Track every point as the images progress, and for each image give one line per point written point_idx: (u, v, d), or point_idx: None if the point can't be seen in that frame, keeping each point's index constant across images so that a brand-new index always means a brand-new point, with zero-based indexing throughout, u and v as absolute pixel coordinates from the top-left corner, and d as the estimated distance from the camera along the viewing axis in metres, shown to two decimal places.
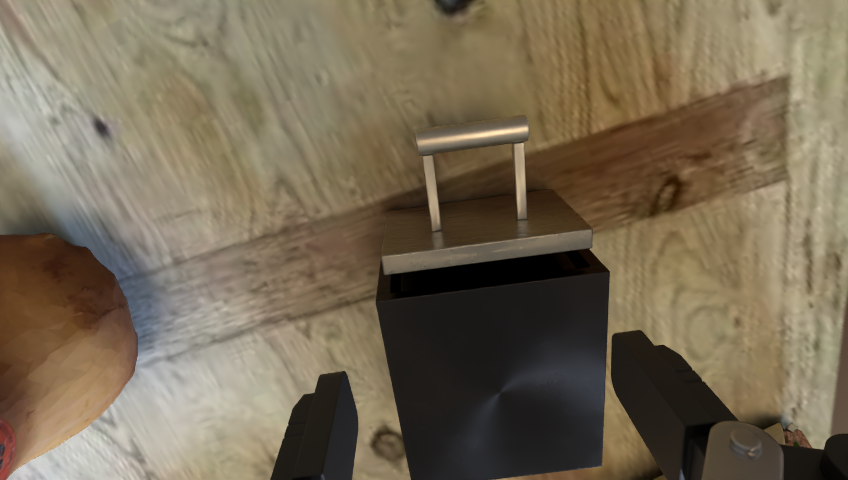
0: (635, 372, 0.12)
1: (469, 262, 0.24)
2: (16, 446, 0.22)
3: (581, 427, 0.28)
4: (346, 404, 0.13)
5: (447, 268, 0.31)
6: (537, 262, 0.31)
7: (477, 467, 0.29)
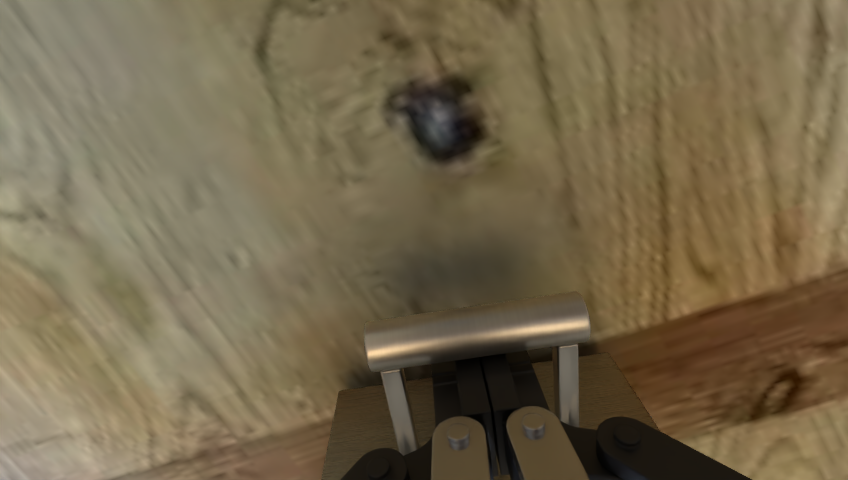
0: (481, 365, 0.13)
1: None
2: None
3: None
4: None
5: None
6: None
7: None
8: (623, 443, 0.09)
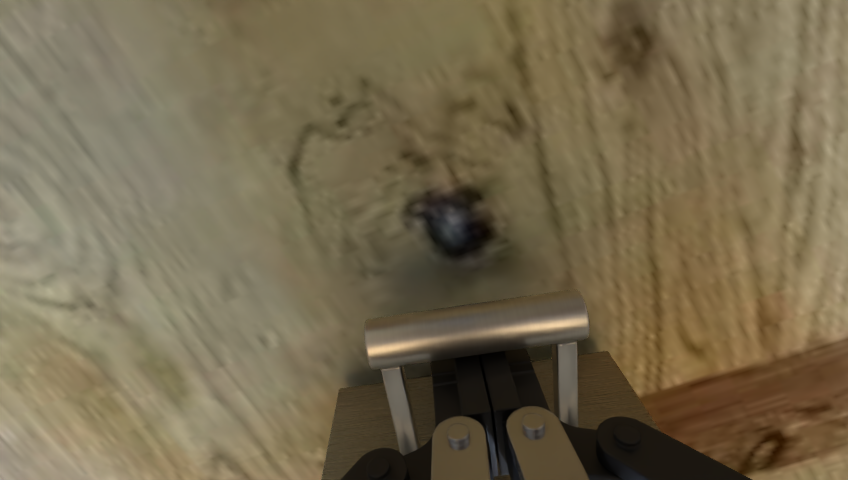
0: (481, 365, 0.13)
1: None
2: None
3: None
4: None
5: None
6: None
7: None
8: (623, 443, 0.09)
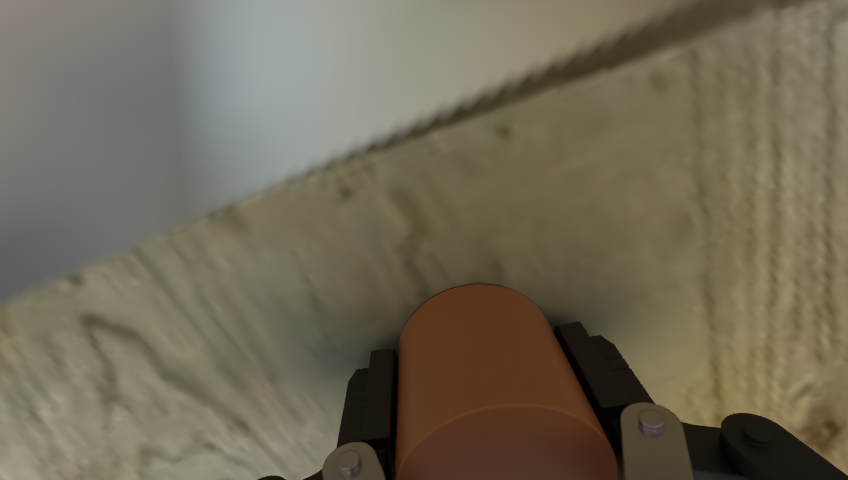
0: (570, 361, 0.13)
1: None
2: None
3: None
4: None
5: None
6: None
7: None
8: (756, 441, 0.09)
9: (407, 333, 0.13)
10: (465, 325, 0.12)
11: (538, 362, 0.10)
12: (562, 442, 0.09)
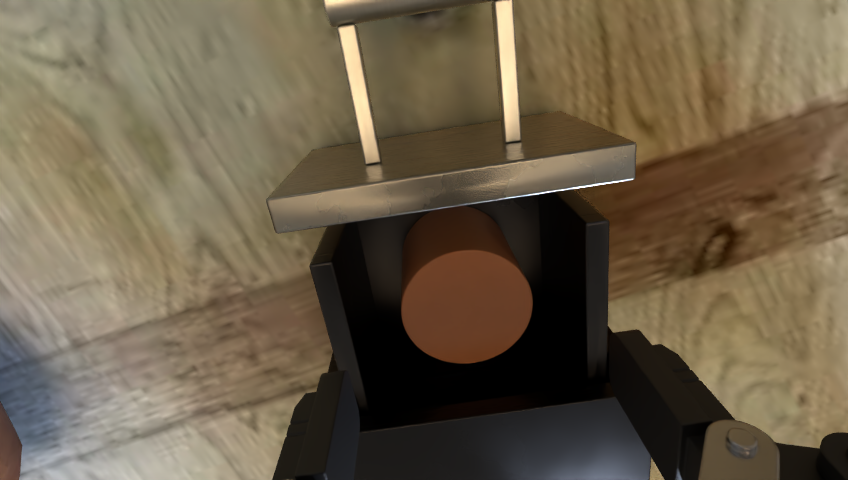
0: (633, 372, 0.12)
1: (421, 208, 0.14)
2: None
3: None
4: (348, 404, 0.13)
5: (406, 235, 0.21)
6: (540, 224, 0.21)
7: None
8: None
9: (408, 237, 0.20)
10: (445, 223, 0.19)
11: (487, 237, 0.17)
12: (497, 276, 0.16)
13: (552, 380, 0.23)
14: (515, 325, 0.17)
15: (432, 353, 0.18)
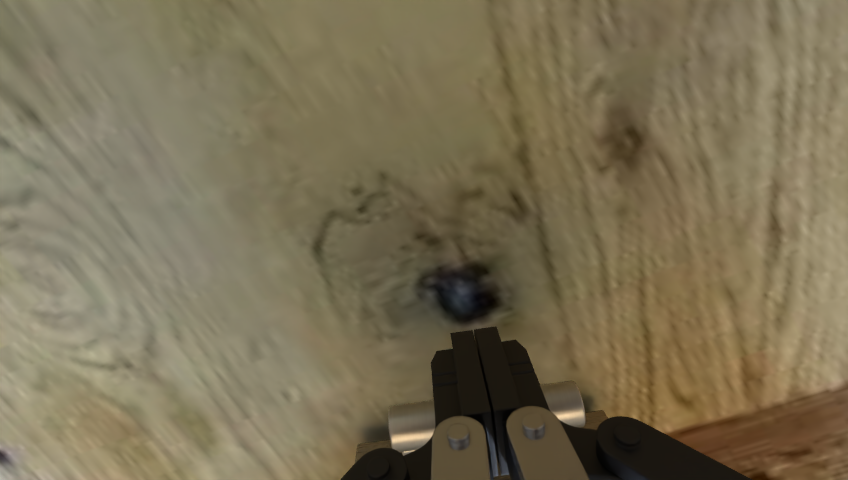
0: (481, 365, 0.13)
1: None
2: None
3: None
4: None
5: None
6: None
7: None
8: (623, 443, 0.09)
9: None
10: None
11: None
12: None
13: None
14: None
15: None
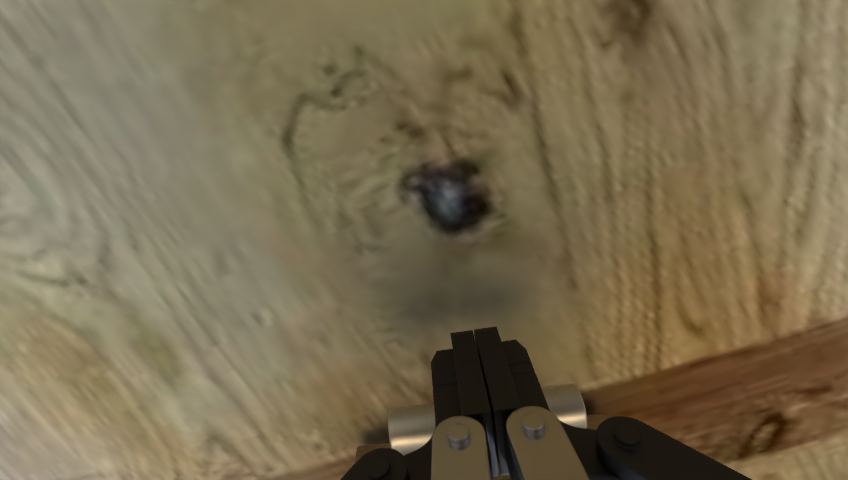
0: (481, 365, 0.13)
1: None
2: None
3: None
4: None
5: None
6: None
7: None
8: (623, 443, 0.09)
9: None
10: None
11: None
12: None
13: None
14: None
15: None
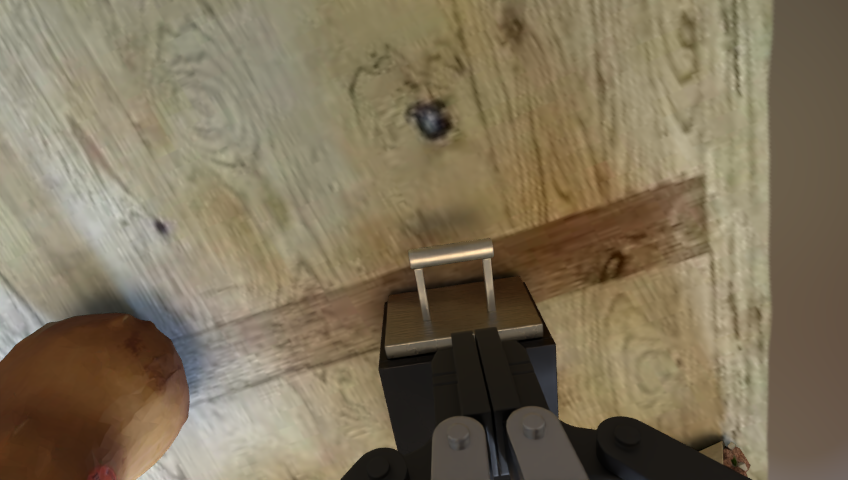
0: (481, 365, 0.13)
1: None
2: None
3: None
4: None
5: None
6: None
7: None
8: (623, 443, 0.09)
9: None
10: None
11: None
12: None
13: None
14: None
15: None
